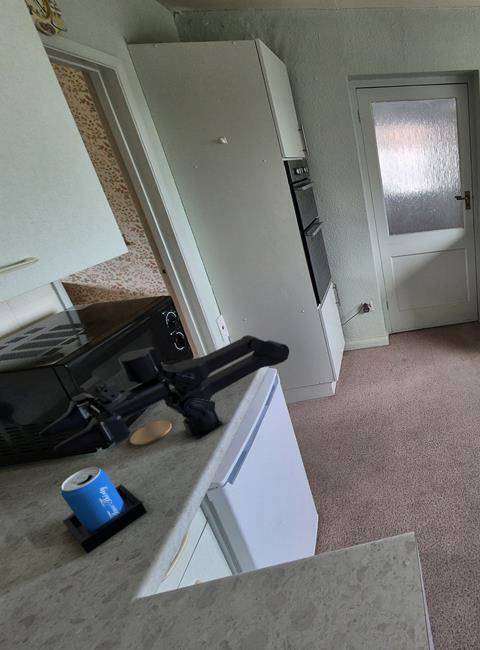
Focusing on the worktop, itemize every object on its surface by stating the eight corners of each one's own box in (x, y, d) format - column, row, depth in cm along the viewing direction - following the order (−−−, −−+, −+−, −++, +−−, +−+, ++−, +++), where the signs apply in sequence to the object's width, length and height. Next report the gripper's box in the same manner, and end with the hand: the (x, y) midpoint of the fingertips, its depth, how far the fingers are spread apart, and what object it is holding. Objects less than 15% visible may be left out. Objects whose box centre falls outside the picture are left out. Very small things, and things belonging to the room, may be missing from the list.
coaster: (162, 418, 107) (161, 416, 107) (178, 427, 103) (177, 426, 103) (124, 438, 101) (123, 437, 100) (139, 450, 96) (138, 448, 96)
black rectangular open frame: (127, 493, 83) (121, 484, 82) (147, 512, 79) (141, 502, 77) (69, 530, 76) (62, 520, 75) (87, 553, 71) (80, 543, 70)
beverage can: (105, 538, 74) (75, 494, 69) (79, 534, 75) (48, 490, 70) (136, 509, 79) (111, 466, 75) (112, 505, 81) (85, 463, 76)
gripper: (106, 359, 89) (12, 397, 77) (141, 378, 80) (41, 424, 68) (126, 398, 94) (41, 439, 82) (162, 420, 84) (71, 470, 72)
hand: (47, 442), depth 76 cm, fingers open, 9 cm apart
